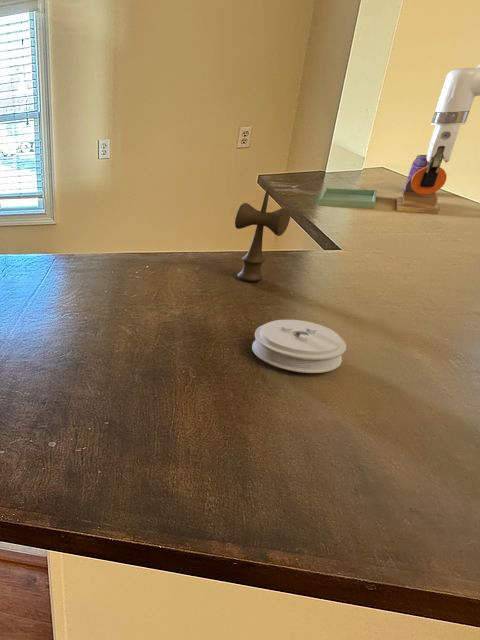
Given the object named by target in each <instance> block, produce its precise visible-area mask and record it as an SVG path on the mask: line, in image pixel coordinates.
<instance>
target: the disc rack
mask: <svg viewBox="0 0 480 640" xmlns="http://www.w3.org/2000/svg"><path fill="white" fill-rule="evenodd" d="M395 199H396V200H395V206H396V209H395V211H396V212H403V213H404V212H406V213H420V212H422V213H423V214H439V212H440V206H439V203H438V200H439V199H438V196H437V191H436V192H435V193H430V194H419V193H412V192H406V191H403V192H402V195H401V196H397V197H396V198H395ZM422 213H421V214H422Z"/></svg>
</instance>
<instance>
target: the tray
mask: <svg viewBox="0 0 480 640" xmlns="http://www.w3.org/2000/svg"><path fill="white" fill-rule="evenodd" d="M377 191H378V189H359V188H358V189H356V188H334V187H333V188H332V187H325V188H324V190H323V192H322V193H321V195H320V198H319V200H318V203H317V206H323V207H337V208H339V207H340V208H341V207H342V208H358V209H374V208H375V204H376V200H377Z"/></svg>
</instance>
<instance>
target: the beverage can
mask: <svg viewBox="0 0 480 640" xmlns="http://www.w3.org/2000/svg"><path fill="white" fill-rule="evenodd" d="M426 157H427V154H419V155H416V158H414V160H413V161H412V164H411V166H410V169H409V171H408V175H407V177H406V181H405V184H404V187H403V192H404V191H406V184H407V182H408V181H409V179H410V178H411V177H413V176H414V174H415V173H416V172H417V171H419V170H420V169H422V168H424V167H426V166H427V163H428V161H427V159H426Z"/></svg>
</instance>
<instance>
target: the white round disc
mask: <svg viewBox="0 0 480 640" xmlns="http://www.w3.org/2000/svg"><path fill="white" fill-rule="evenodd" d="M254 338H255V340H254V341H253V342H252V345H251V350H252V352H253V353H254V355H255V356H256V357H257V358H259V359H260V360H262V362H263V361H264V362H265V363H267V364H269V365H271V366H274V367H275V368H280V369H283V370H286V371H291V372H296V373H303V374H304V373H305V374H321V373H327V372H331V371H334V370H336V369H338V368H339V367H340V366H341V365H342V363H343V358H342V356H343V355H344V354H345V352H346V350H347V342H346V341H345V339H343V338H342V337H341V336H340V335H339V334H338V333H337V332H336V331H334V330H333V329H331V328H329V327H327V326H325V325H322V324H317V323H315V322H311V321H306V320H299V319H277V320H272V321H269V322H267V323H265V324H264V323H263V324H262V325H260V326H258V327H257V328H256V329H255V331H254Z"/></svg>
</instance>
